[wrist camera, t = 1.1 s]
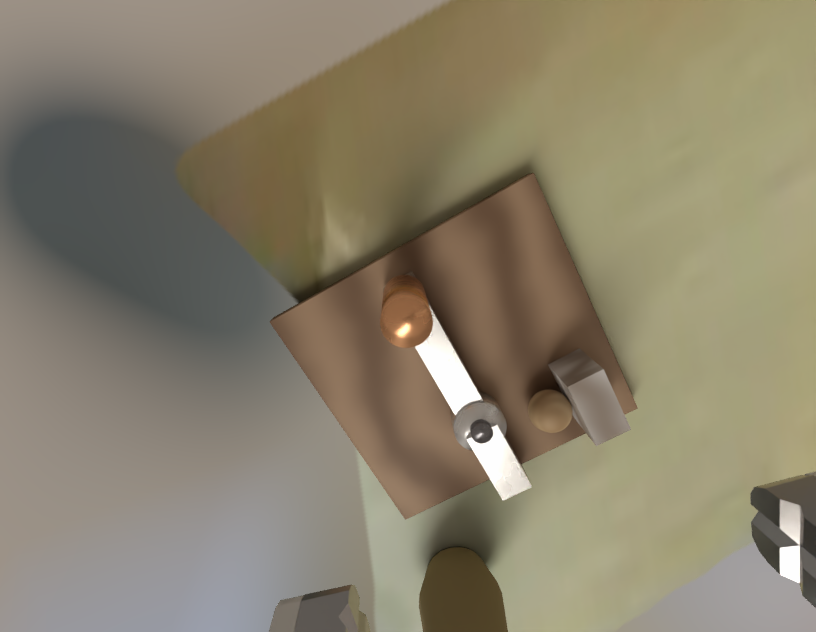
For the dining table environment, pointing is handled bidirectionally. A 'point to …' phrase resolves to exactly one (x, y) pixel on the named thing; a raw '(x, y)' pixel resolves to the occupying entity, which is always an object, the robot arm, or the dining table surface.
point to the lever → (452, 382)
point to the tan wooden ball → (550, 411)
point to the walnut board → (462, 347)
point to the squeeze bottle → (460, 595)
